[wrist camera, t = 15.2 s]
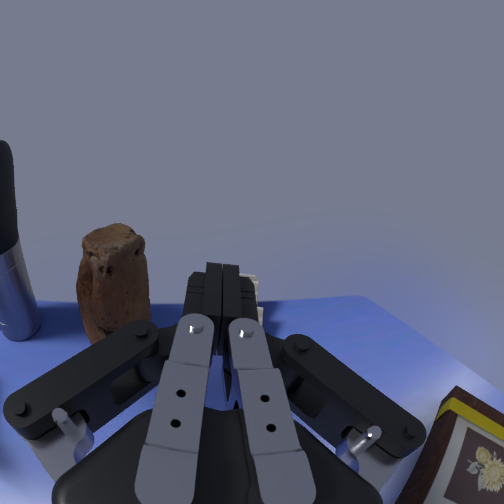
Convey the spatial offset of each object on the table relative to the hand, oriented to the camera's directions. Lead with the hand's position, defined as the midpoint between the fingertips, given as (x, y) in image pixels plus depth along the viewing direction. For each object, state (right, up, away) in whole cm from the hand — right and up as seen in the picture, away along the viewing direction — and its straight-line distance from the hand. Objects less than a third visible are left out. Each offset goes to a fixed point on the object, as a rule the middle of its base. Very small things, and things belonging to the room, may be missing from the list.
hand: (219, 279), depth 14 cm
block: (-21, -14, +32) cm, 41 cm away
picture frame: (+39, -38, +12) cm, 56 cm away
